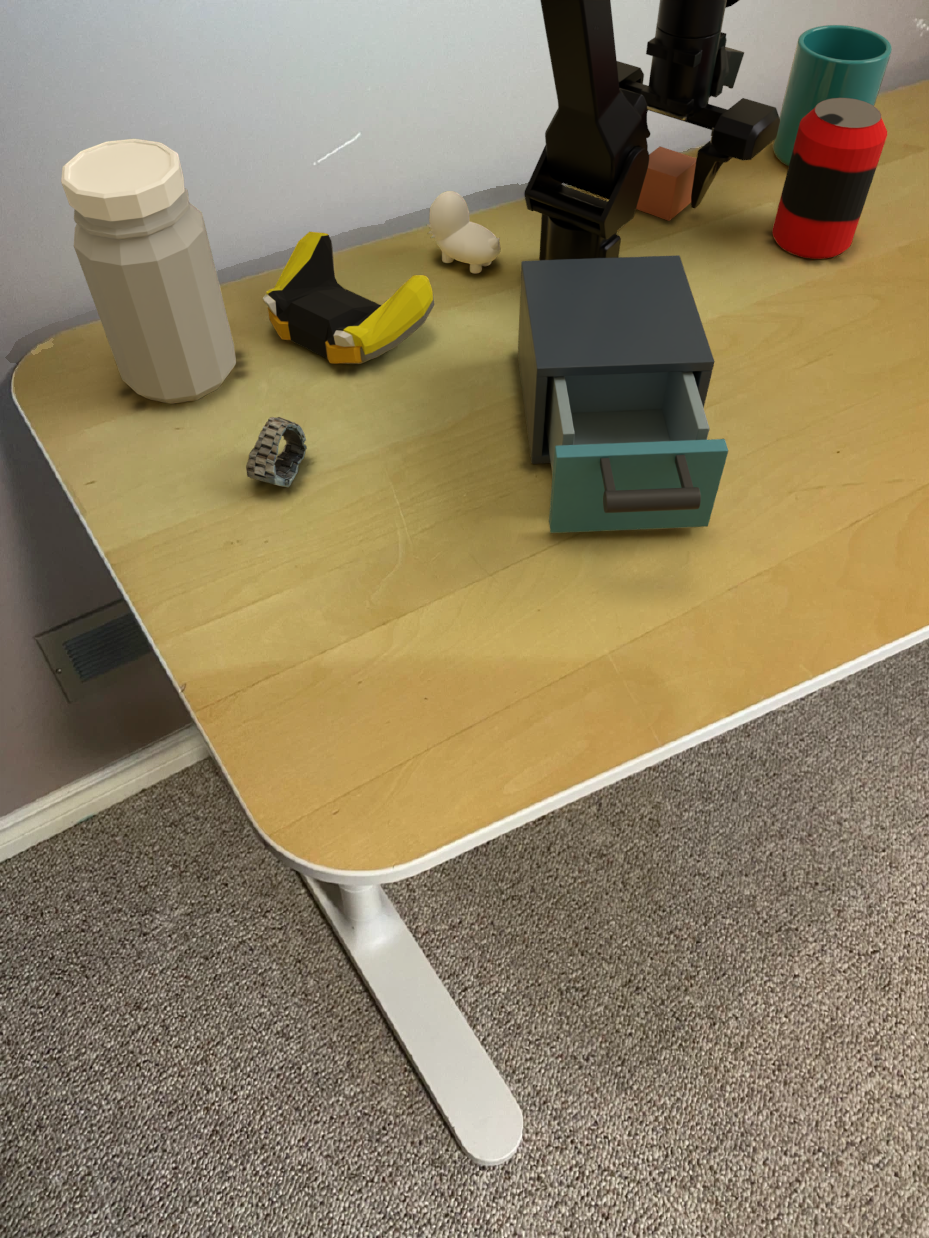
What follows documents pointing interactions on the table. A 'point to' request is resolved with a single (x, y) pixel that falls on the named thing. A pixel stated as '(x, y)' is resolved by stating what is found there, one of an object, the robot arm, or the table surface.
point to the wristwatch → (266, 450)
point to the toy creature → (461, 233)
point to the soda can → (829, 177)
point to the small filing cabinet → (604, 327)
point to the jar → (149, 269)
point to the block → (667, 183)
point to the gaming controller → (341, 308)
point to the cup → (830, 75)
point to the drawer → (630, 452)
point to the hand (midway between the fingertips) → (662, 195)
